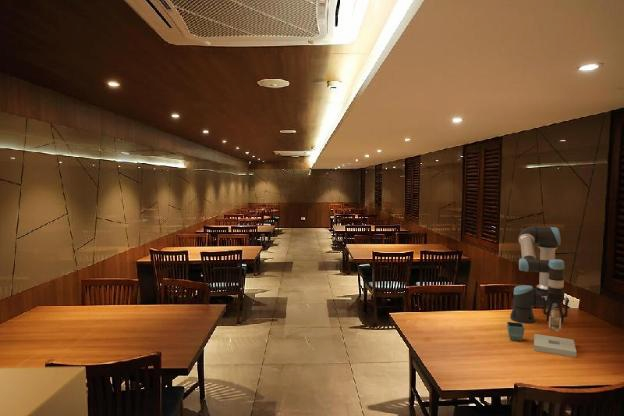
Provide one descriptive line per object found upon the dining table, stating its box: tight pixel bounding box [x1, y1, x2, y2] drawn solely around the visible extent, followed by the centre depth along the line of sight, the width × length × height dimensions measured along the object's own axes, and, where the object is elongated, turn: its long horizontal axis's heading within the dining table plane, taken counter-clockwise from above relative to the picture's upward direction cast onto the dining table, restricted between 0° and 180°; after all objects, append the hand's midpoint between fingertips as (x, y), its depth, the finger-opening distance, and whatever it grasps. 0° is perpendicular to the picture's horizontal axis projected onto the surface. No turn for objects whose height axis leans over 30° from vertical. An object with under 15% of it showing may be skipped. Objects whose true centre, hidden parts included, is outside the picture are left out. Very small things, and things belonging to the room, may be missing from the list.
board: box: [533, 333, 577, 358], centre depth 235 cm, size 20×20×3 cm
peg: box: [550, 308, 561, 333], centre depth 234 cm, size 4×4×12 cm
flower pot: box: [506, 321, 526, 342], centre depth 248 cm, size 9×9×9 cm
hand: (554, 327), depth 234 cm, fingers closed on peg, 4 cm apart
